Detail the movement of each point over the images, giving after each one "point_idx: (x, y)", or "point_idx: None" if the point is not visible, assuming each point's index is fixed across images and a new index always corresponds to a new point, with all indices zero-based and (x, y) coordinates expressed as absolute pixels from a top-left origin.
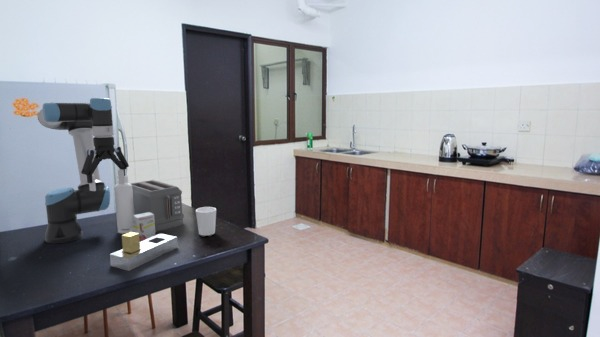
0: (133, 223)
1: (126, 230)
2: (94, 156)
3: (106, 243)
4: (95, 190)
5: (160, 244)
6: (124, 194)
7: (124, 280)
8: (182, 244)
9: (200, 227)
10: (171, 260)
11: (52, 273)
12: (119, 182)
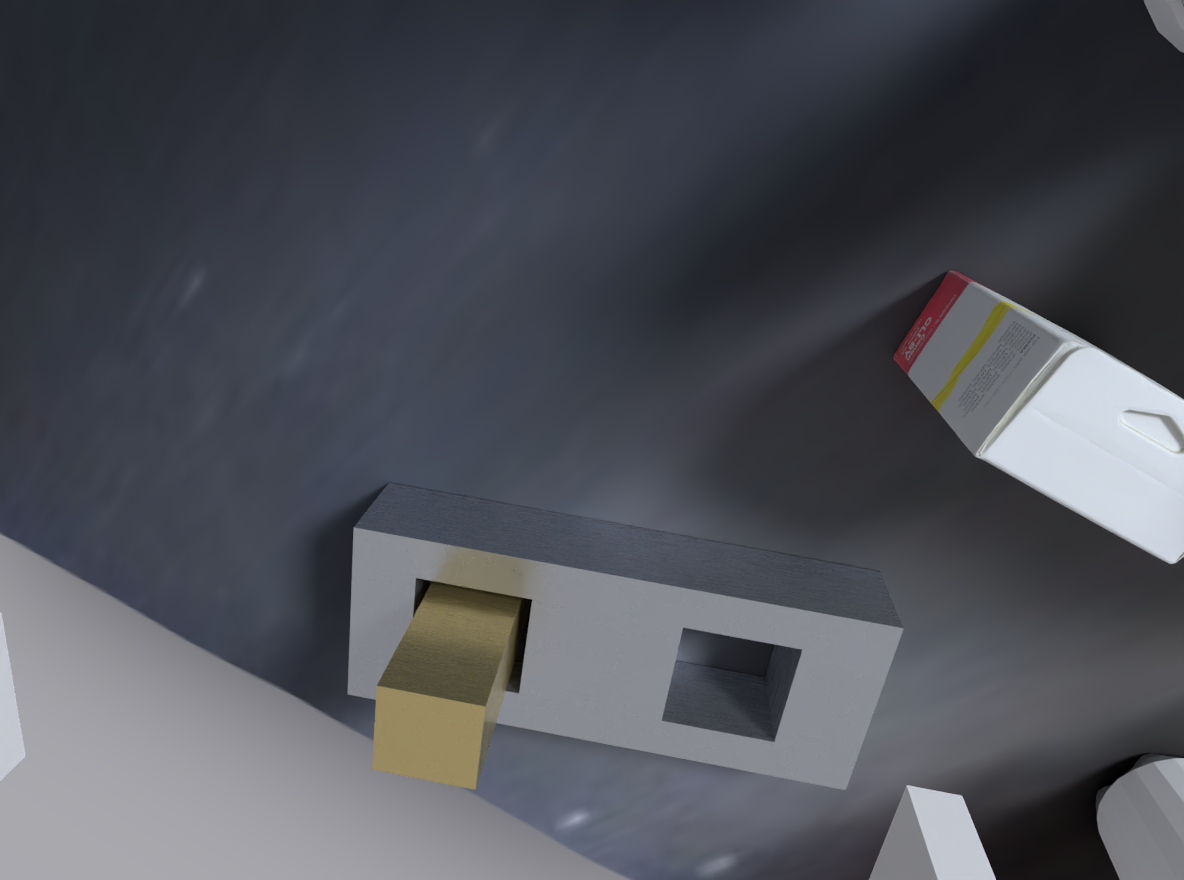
0: (1011, 324)
1: (1175, 19)
2: None
3: (790, 54)
4: (1, 762)
5: (656, 752)
6: None
7: (277, 684)
8: (900, 723)
9: (1134, 853)
10: (606, 781)
11: (116, 159)
12: (909, 856)
